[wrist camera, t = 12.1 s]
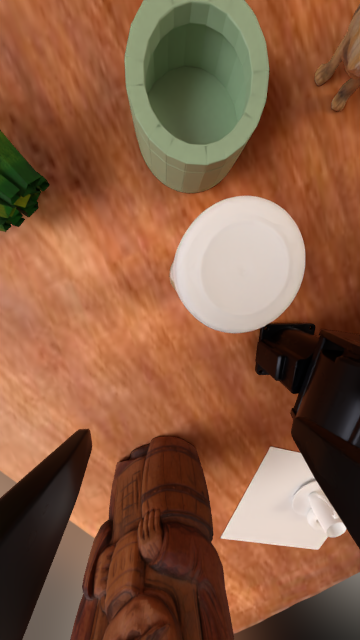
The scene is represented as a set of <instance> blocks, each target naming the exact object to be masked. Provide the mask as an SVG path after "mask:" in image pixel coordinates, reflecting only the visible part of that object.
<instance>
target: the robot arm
mask: <svg viewBox="0 0 360 640" xmlns="http://www.w3.org/2000/svg"><path fill="white" fill-rule="evenodd" d="M310 326H311V327H310ZM265 327H267V328H266V329H264V328H265ZM309 327H310V329H309ZM314 332H315V325H314V324H312V323H270V324H267V325H265V326H264V327H261V329H260V337H259V342H258V344H257V353H256V369H255V371H256V373H257V374H259V375H271V376H272V377H273V378H274V379H275V380H276V381H280V382H281V383H282V384H283V385H284V386H285V387H286V388H287V389H288V390H289V391H290V392H292V393H293V394H297V393H298V394H299V395H298V397H297V400H296V403H295V406H294V408H292V410H291V413H290V414H291V416H292V418H293V424H292V429H291V434H292V437H293V439H294V441H295V443H296V445H297V447H298V449H299V451H300V452H301V454H302V456H303V458H304V460H305V462H306V463H307V465H308V467H309V469H310V471H311V473H312V474H313V476H314V478H315V480H316V481H317V483H318V484H319V486H320V488H321V489H322V491H323V492H324V494H325V495H326V497H327V499H328V500H329V502H330V503H331V505H332V506H333V508H334V510H335V511H336V513H337V514H338V516H339V517H340V519H341V521H342V522H343V524H344V525H345V527H346V528H347V530H348V532H349V533H350V535H351V536H352V538H353V539H354V541H355V543H356V544H357V546H358V547H359V549H360V335H359V334H352V333H346V332H339V331H332V330H325V329H321V330H320V333H319V335H320V337H316V336H314ZM259 370H261V371H259ZM91 450H92V440H91V433H90V430H89V429H79V430H78V431H76V432H75V433H74V434H73V435H72V436H71V437H69V438H68V439H67V440H66V441H65V442H64V443H63V444H61V445H60V446H59V447H58V448H57V449H56V450H55V451H53V452H52V453H51V454H50V455H49V456H48V457H47V458H45V459H44V460H43V461H42V462H41V463H40V464H39V465H37V466H36V467H35V468H34V469H33V470H32V471H31V472H29V473H28V474H27V475H26V476H25V477H24V478H23V479H21V480H20V481H19V482H18V483H17V484H16V485H15V486H13V487H12V488H11V489H10V490H9V491H8V492H7V493H5V494H4V495H3V496H2V497H1V498H0V640H22V639H23V636H24V634H25V631H26V629H27V626H28V623H29V621H30V618H31V616H32V613H33V611H34V608H35V605H36V603H37V600H38V598H39V595H40V593H41V590H42V587H43V585H44V582H45V580H46V577H47V574H48V572H49V569H50V567H51V564H52V562H53V559H54V557H55V554H56V551H57V549H58V546H59V544H60V541H61V539H62V536H63V534H64V530H65V528H66V525H67V523H68V521H69V518H70V516H71V513H72V510H73V508H74V505H75V502H76V500H77V497H78V494H79V491H80V487H81V484H82V481H83V477H84V474H85V470H86V467H87V464H88V460H89V457H90V454H91Z"/></svg>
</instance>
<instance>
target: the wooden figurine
mask: <svg viewBox="0 0 360 640" xmlns="http://www.w3.org/2000/svg"><path fill="white" fill-rule="evenodd" d="M212 539H213V524H212V515H211V507H210V501H209V495H208V490H207V485H206V481H205V477H204V473H203V469H202V467H201V463H200V460H199V457H198V454H197V451H196V449H195V447H194V446H193V445H191V444H189V443H187V442H186V441H184V440H183V439H180V438H175V437H172V436H165V437H157V438H154V439H152V441H151V443H150V444H149V445H144V446H141V447H140V448H138V449H135V450H133V451H132V452H131V455H130V459H129V460H126V461H122V462H118V463H117V465H116V470H115V475H114V480H113V484H112V491H111V499H110V507H109V520H108V521H106V522H105V523H104V524H103V525H102V526H101V527H100V529H99V531H98V533H97V535H96V537H95V539H94V542H93V546H92V549H91V552H90V556H89V559H88V563H87V567H86V571H85V575H84V580H83V585H82V588H83V593H84V594H83V597H82V599H81V602H80V606H79V609H78V612H77V616H76V619H75V623H74V627H73V631H72V635H71V639H70V640H234V635H233V629H232V623H231V617H230V612H229V606H228V601H227V596H226V590H225V583H224V573H223V566H222V563H221V561H220V558H219V556H218V553H217V551H216V549H215V548H214V546H213V545H212V543H211V541H212Z"/></svg>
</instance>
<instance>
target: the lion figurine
mask: <svg viewBox="0 0 360 640" xmlns="http://www.w3.org/2000/svg"><path fill="white" fill-rule="evenodd" d="M342 60H343V62H344V66H345V71H346V72H347V73H348V76H349V77H351V79H350V80H348V81H347V82H346V83H345V84H344V85H343V86H342V87H341V88H340V90H339V91H338V93H337V95H336V96H335V97H334V98H333V100H332V103H331V105H332V109H333V110H334V111H341V110H342V109H343V108H344V106H345V103H346V101H347V99H348V98H349V97H350V96H351V94H352V93H353V92H354V91H355V90H356V89H357V88H358V87H359V86H360V5H359V6H358V8H357V10H356V11H355V13H354V16H353V19H352V21H351V23H350V25H349V27H348V31H347V33H346V35H345V36H344V38H343V40H342V41H341V43H340V45H339V46H338V48H337V49H336V51H335V53H334V55H333V56H332V58H331V60H330V61H329V62H328V63H326V64H322V65H320V66H319V68H318V69H317V71H316V73H315V82H316V84H317V85H318V86H320V85H322V84H324V83H325V82H326V81H327V80H329V79H330V78H331V76H332V75H333V73H334V71H335V70H336V68H337V67H338V66H339V64H340V63H341V61H342Z"/></svg>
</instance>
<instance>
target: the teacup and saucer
mask: <svg viewBox="0 0 360 640" xmlns="http://www.w3.org/2000/svg"><path fill="white" fill-rule="evenodd" d="M291 507H292V509H293V511H294V512H295V513H296V514H297V515H299V516H302V517H306V520H307V523H308V525H309V526H310V527H311V528H312V529H313V530H314V531H317V532H324V533H325V535H326V536H327V537H337V536H340V535H341V534H343V533H344V532H345V531H346V529H347V528H346V527H345V525H344V524H343V522H342V521H341V519H340V517H339V516H338V514H337V513H336V511H335V510H334V508H333V506H332V505H331V503H330V502H329V500H328V499H327V497H326V495H325V494H324V492H323V491H322V489H321V488H320V486H319V484H318V483H317V481H316V480H314V481H311V482H309V483H307V484H305V485H303V486H302V487H301V488H300V489H299V490H298V491H297V492H296V493H295V494H294V496H293V498H292V501H291Z"/></svg>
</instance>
